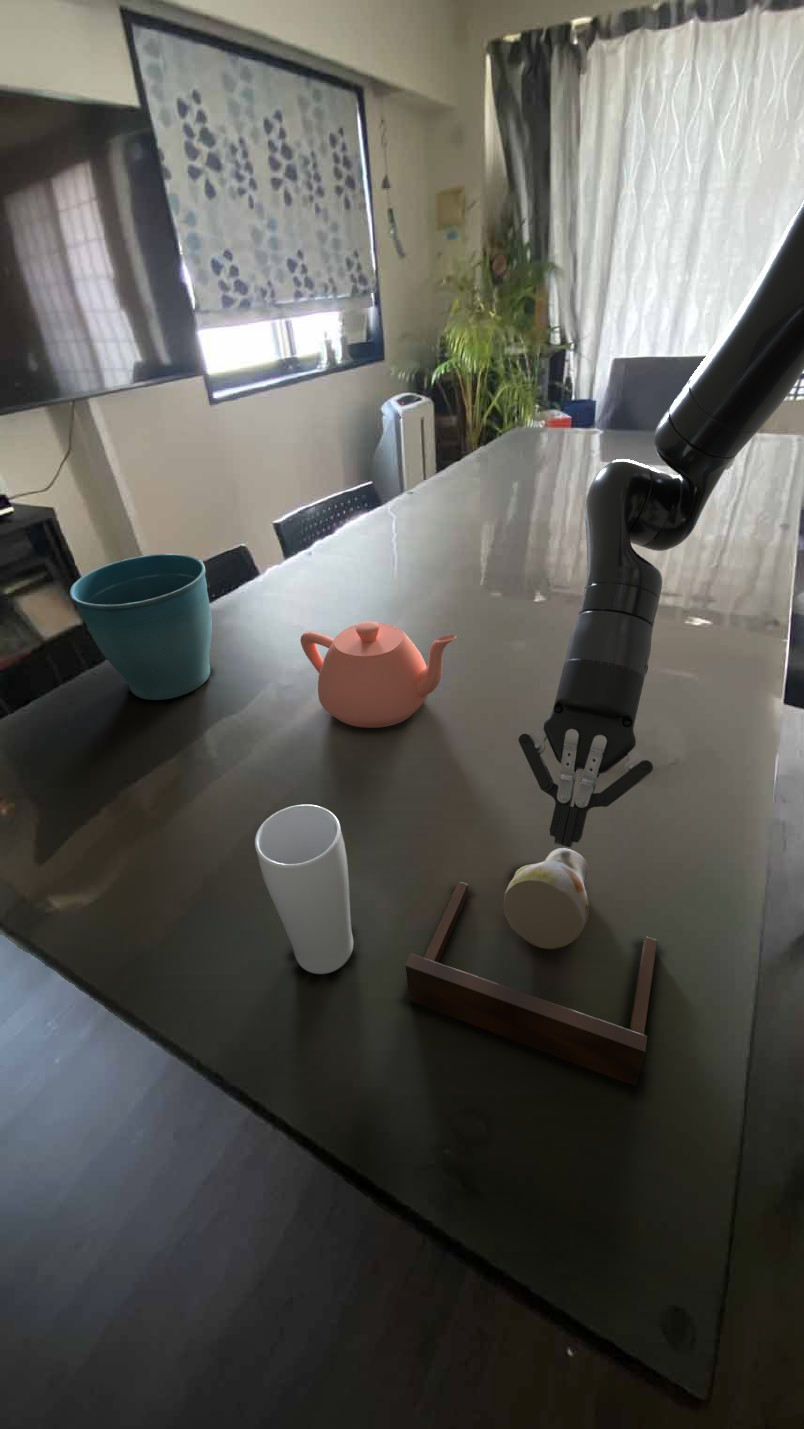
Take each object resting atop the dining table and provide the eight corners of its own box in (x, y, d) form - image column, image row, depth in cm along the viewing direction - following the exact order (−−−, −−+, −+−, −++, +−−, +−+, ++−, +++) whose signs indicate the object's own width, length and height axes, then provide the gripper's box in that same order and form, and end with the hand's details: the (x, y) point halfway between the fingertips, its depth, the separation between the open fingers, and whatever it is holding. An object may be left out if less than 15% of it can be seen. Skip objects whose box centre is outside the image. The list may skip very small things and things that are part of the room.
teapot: (472, 686, 91) (471, 608, 84) (441, 750, 80) (437, 666, 73) (332, 667, 98) (321, 594, 91) (286, 724, 87) (269, 645, 80)
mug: (605, 877, 62) (624, 856, 53) (557, 967, 60) (569, 961, 50) (536, 837, 65) (544, 811, 56) (487, 921, 62) (486, 908, 53)
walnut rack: (654, 950, 55) (664, 913, 52) (635, 1086, 46) (645, 1052, 44) (458, 891, 62) (457, 855, 59) (409, 1000, 53) (405, 965, 50)
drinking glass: (335, 997, 54) (307, 880, 45) (272, 965, 57) (234, 849, 48) (376, 935, 59) (358, 818, 50) (316, 908, 61) (289, 793, 53)
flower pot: (172, 642, 109) (142, 546, 99) (255, 663, 101) (231, 560, 91) (85, 697, 96) (41, 593, 86) (172, 725, 89) (134, 614, 79)
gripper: (530, 646, 60) (486, 826, 59) (680, 670, 55) (636, 868, 54) (541, 665, 67) (502, 826, 66) (675, 688, 62) (637, 863, 61)
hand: (563, 845), depth 60 cm, fingers closed
